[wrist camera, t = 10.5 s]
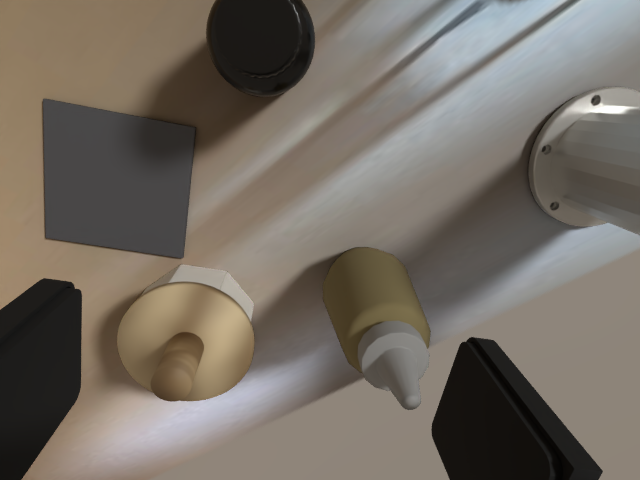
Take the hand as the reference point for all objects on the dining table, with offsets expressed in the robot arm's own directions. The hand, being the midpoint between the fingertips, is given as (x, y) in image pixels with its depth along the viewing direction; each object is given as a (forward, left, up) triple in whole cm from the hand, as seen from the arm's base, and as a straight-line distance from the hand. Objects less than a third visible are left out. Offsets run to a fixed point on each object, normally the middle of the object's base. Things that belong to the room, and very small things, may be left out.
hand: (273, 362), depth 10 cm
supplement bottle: (+3, -9, -28) cm, 30 cm away
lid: (+6, +16, -24) cm, 29 cm away
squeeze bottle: (-9, +9, -28) cm, 31 cm away
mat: (+14, +4, -28) cm, 32 cm away
